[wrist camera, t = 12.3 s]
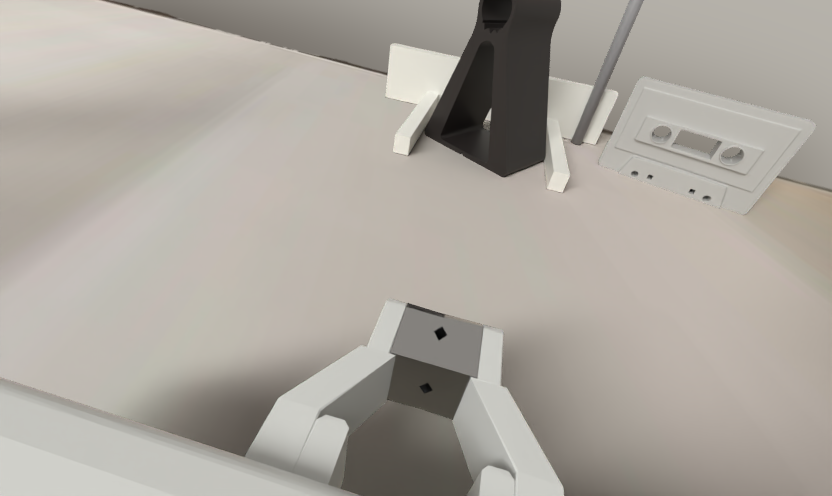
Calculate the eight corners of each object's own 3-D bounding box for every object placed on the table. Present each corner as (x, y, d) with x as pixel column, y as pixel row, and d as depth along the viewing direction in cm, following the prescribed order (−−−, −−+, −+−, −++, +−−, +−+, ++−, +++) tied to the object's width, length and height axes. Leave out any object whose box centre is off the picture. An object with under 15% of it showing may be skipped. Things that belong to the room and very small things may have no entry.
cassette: (595, 167, 35) (638, 77, 30) (598, 160, 36) (640, 74, 31) (745, 219, 31) (822, 126, 26) (743, 210, 32) (815, 119, 27)
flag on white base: (622, 147, 39) (758, -119, 27) (660, 216, 29) (911, -172, 16) (388, 94, 42) (416, -175, 29) (341, 139, 31) (353, -255, 19)
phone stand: (423, 134, 34) (451, -30, 27) (466, 124, 38) (501, -23, 31) (503, 178, 30) (563, -4, 23) (543, 162, 34) (606, 0, 26)
